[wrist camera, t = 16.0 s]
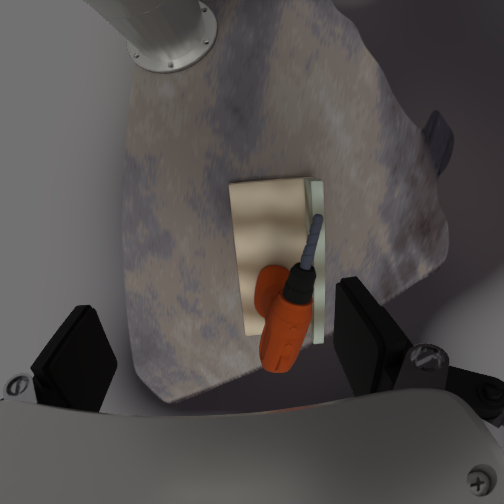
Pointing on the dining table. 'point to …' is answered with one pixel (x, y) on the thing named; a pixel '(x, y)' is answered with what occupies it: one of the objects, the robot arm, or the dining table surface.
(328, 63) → the dining table surface
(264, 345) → the toy drill
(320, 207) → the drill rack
